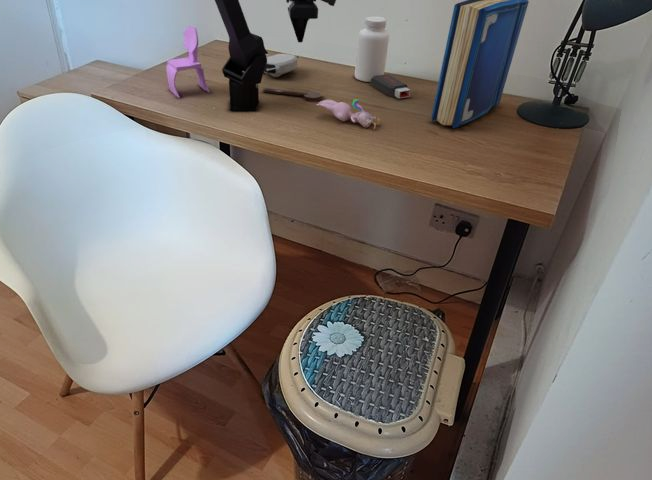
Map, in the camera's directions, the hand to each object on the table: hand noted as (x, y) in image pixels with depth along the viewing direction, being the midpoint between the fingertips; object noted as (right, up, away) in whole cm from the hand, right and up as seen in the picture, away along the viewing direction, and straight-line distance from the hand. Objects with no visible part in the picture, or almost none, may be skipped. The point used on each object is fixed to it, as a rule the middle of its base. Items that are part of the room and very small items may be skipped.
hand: (300, 42), depth 128 cm
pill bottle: (+19, -3, +16) cm, 25 cm away
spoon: (-2, -11, +5) cm, 13 cm away
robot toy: (-8, 0, +19) cm, 21 cm away
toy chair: (-28, -10, +6) cm, 31 cm away
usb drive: (+24, -9, +9) cm, 27 cm away
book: (+40, -19, -3) cm, 44 cm away
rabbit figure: (+11, -22, -7) cm, 25 cm away
